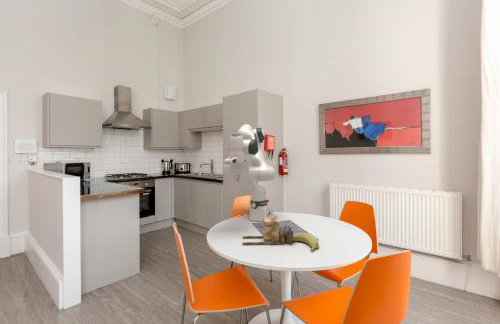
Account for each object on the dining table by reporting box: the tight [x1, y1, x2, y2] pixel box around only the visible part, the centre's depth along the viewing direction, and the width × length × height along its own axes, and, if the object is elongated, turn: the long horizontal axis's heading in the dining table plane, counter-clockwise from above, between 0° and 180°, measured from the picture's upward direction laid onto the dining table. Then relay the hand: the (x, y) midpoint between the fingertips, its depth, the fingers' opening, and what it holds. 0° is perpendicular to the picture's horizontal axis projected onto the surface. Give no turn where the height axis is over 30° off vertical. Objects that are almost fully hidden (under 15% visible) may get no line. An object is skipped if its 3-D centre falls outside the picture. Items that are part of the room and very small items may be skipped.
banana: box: [293, 232, 319, 253], centre depth 140 cm, size 14×6×20 cm
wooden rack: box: [242, 225, 294, 246], centre depth 146 cm, size 28×12×10 cm, turn 91°
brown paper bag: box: [262, 217, 280, 242], centre depth 147 cm, size 8×8×12 cm
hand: (237, 182), depth 165 cm, fingers closed
